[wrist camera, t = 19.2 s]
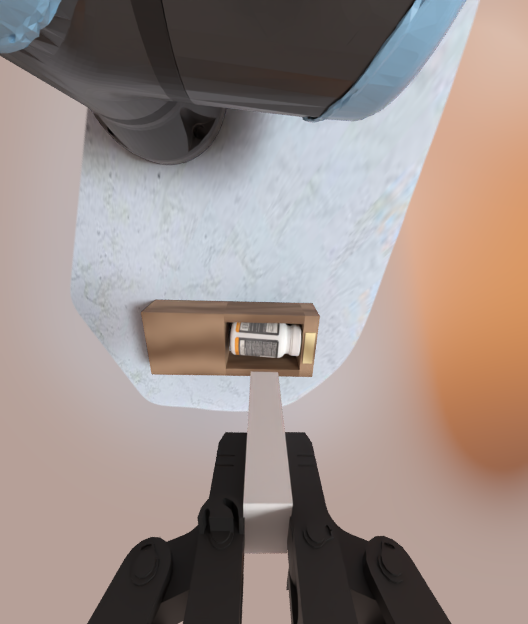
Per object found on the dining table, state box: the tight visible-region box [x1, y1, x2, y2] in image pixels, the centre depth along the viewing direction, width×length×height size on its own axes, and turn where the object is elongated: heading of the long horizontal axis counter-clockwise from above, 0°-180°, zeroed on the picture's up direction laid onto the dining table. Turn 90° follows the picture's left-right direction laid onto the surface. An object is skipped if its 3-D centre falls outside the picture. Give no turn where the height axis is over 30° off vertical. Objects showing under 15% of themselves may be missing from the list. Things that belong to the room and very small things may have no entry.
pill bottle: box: [230, 322, 301, 358], centre depth 36 cm, size 6×6×10 cm
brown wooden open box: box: [141, 300, 320, 377], centre depth 37 cm, size 10×24×5 cm, turn 88°
